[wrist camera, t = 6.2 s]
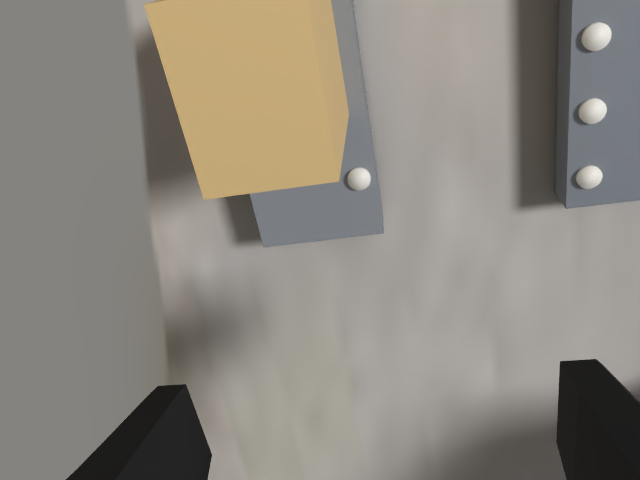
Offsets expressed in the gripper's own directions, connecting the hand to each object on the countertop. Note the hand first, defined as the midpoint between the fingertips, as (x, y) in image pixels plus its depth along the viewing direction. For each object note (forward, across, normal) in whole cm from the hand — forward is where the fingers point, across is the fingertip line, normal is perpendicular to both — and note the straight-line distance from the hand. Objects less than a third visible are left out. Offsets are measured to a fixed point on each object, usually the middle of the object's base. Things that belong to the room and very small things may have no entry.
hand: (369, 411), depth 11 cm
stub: (+9, +2, -6) cm, 11 cm away
